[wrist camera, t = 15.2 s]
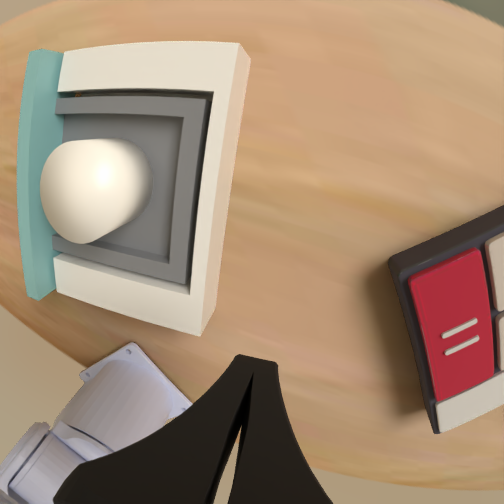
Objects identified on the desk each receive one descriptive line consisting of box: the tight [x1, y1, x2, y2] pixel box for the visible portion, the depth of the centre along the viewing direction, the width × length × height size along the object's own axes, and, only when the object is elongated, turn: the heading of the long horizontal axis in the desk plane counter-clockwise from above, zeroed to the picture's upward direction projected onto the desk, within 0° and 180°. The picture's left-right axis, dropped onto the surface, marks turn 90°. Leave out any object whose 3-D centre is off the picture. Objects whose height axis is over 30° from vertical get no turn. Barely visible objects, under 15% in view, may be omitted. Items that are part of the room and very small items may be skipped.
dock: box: [53, 41, 251, 336], centre depth 18 cm, size 11×16×4 cm
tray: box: [17, 49, 212, 301], centre depth 17 cm, size 11×16×4 cm
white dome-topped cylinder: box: [40, 138, 153, 244], centre depth 16 cm, size 5×5×4 cm
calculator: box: [388, 205, 504, 434], centre depth 17 cm, size 11×4×15 cm
